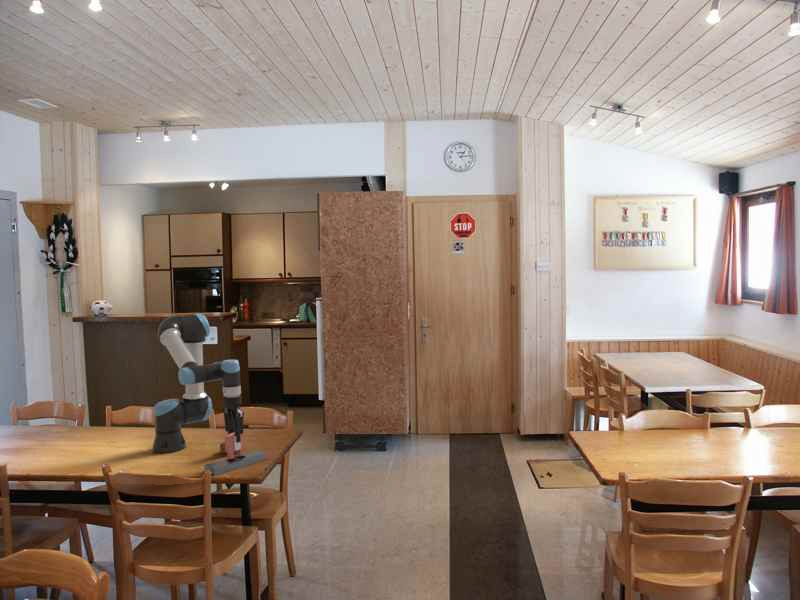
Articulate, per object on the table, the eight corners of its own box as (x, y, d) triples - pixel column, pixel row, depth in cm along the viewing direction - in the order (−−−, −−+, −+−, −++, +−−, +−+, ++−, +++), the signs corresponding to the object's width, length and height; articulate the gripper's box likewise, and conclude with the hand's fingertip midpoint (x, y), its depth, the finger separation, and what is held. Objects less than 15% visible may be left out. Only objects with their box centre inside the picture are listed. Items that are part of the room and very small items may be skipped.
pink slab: (225, 458, 267) (224, 435, 267) (241, 453, 273) (240, 431, 273) (229, 459, 265) (228, 436, 265) (245, 454, 271) (244, 432, 270)
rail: (204, 471, 263) (204, 464, 263) (256, 456, 282) (256, 449, 282) (214, 475, 257) (213, 468, 257) (266, 459, 276) (266, 452, 276)
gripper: (214, 395, 270) (218, 447, 272) (234, 399, 259) (238, 454, 261) (229, 391, 276) (233, 443, 277) (250, 396, 265) (253, 449, 266)
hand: (235, 448), depth 269 cm, fingers closed on pink slab, 3 cm apart
